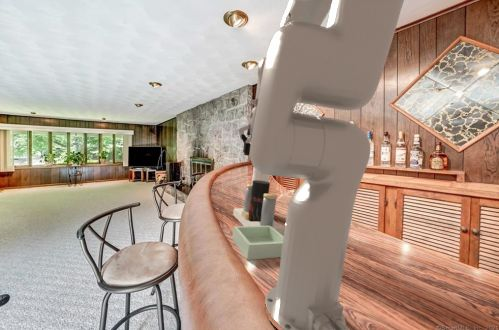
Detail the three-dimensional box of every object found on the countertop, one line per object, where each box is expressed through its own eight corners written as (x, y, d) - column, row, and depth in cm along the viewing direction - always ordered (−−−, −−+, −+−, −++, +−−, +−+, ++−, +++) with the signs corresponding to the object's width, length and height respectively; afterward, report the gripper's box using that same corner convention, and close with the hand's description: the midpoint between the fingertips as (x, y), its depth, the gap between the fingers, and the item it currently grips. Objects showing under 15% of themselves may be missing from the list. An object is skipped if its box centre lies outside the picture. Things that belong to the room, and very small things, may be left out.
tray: (289, 256, 55) (291, 242, 55) (246, 259, 51) (248, 245, 50) (268, 237, 66) (270, 225, 66) (232, 238, 61) (233, 226, 61)
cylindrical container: (245, 208, 94) (252, 151, 92) (260, 208, 97) (267, 152, 95) (252, 214, 88) (260, 152, 86) (267, 213, 91) (275, 154, 89)
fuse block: (283, 236, 68) (289, 197, 67) (254, 237, 64) (259, 196, 63) (256, 214, 87) (260, 184, 87) (233, 214, 84) (237, 183, 83)
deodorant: (263, 228, 72) (268, 184, 71) (245, 225, 73) (251, 181, 72) (265, 223, 78) (270, 182, 77) (249, 220, 79) (254, 179, 78)
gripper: (246, 99, 66) (239, 155, 68) (293, 109, 73) (286, 160, 75) (238, 102, 73) (232, 153, 75) (281, 112, 80) (275, 158, 82)
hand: (259, 156), depth 75 cm, fingers open, 9 cm apart
